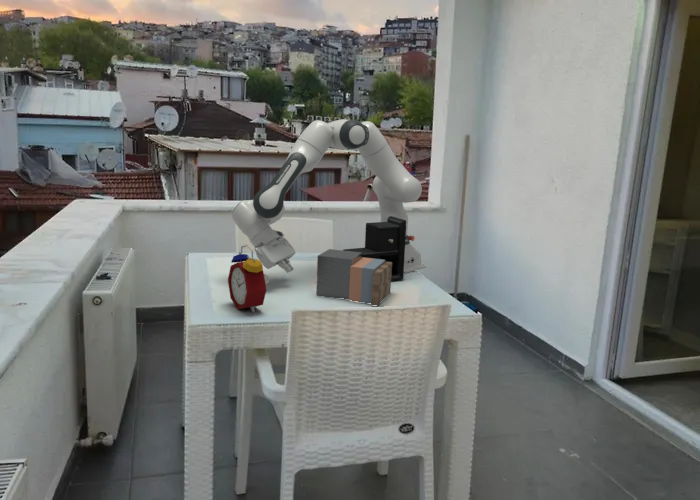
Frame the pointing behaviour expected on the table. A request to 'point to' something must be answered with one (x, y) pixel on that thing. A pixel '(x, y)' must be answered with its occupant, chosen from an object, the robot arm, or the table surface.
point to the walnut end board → (381, 283)
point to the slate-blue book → (369, 279)
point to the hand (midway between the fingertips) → (290, 271)
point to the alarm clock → (247, 281)
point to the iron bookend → (335, 272)
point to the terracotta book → (357, 279)
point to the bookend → (386, 244)
